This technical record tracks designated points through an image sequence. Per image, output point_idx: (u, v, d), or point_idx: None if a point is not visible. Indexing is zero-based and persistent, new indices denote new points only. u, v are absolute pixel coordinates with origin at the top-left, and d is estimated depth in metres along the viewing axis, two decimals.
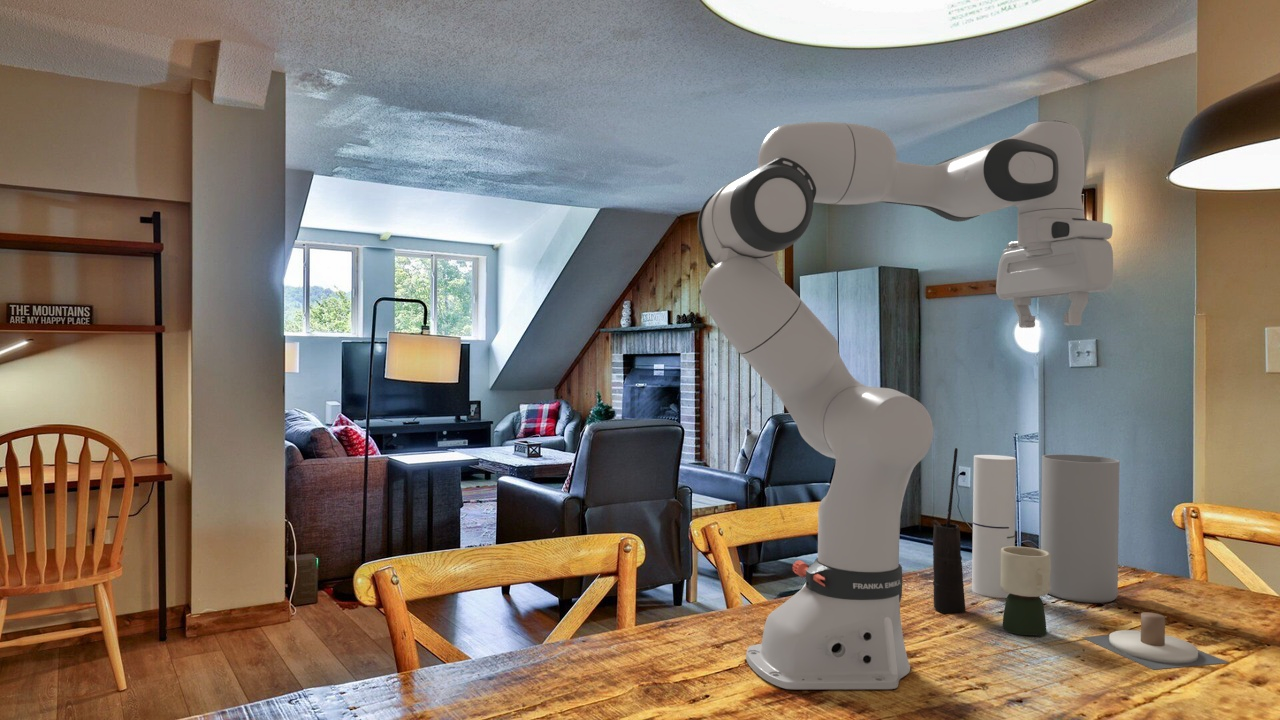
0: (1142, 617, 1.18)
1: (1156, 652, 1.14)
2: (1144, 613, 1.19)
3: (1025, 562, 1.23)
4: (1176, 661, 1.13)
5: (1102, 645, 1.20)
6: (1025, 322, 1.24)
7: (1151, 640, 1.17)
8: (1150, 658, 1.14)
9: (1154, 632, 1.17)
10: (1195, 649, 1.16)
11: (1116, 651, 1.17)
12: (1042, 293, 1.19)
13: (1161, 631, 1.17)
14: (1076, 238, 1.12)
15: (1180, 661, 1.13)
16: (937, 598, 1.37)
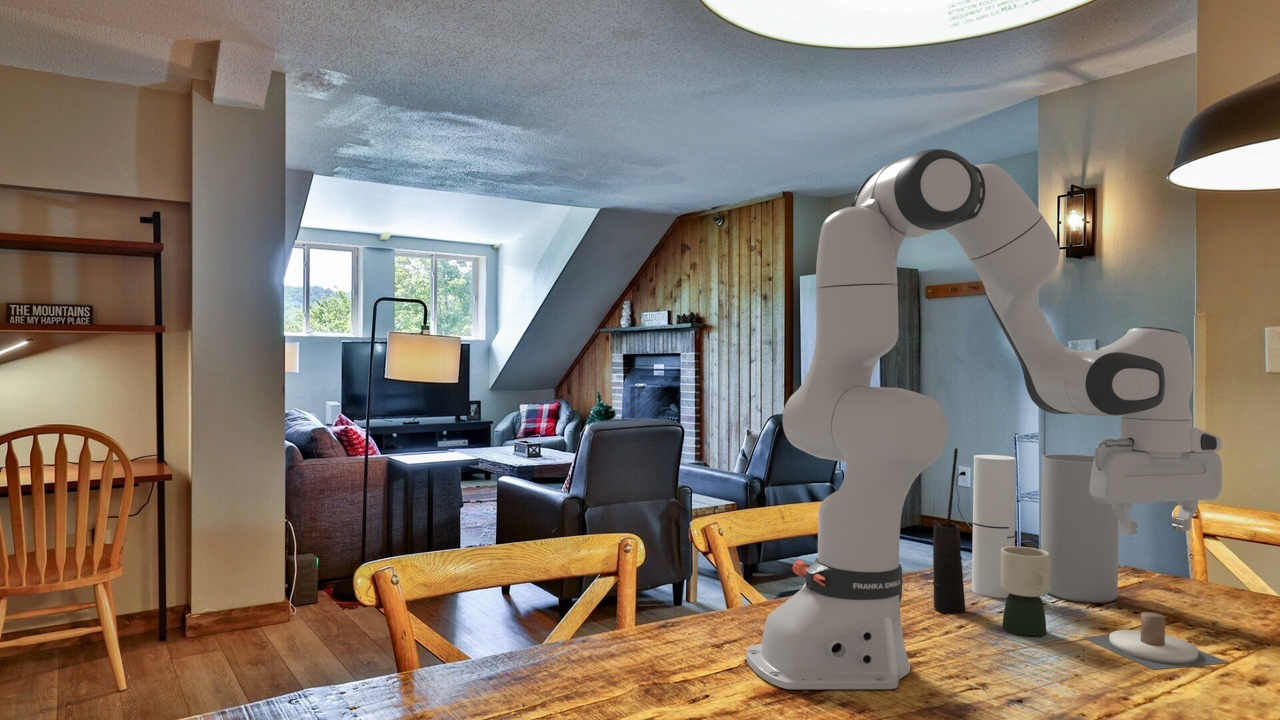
0: (1142, 617, 1.18)
1: (1156, 652, 1.14)
2: (1144, 613, 1.19)
3: (1025, 562, 1.23)
4: (1176, 661, 1.13)
5: (1102, 645, 1.20)
6: (1135, 529, 1.17)
7: (1151, 640, 1.17)
8: (1150, 658, 1.14)
9: (1154, 632, 1.17)
10: (1195, 649, 1.16)
11: (1116, 651, 1.17)
12: (1167, 500, 1.17)
13: (1161, 631, 1.17)
14: None
15: (1180, 661, 1.13)
16: (937, 598, 1.37)
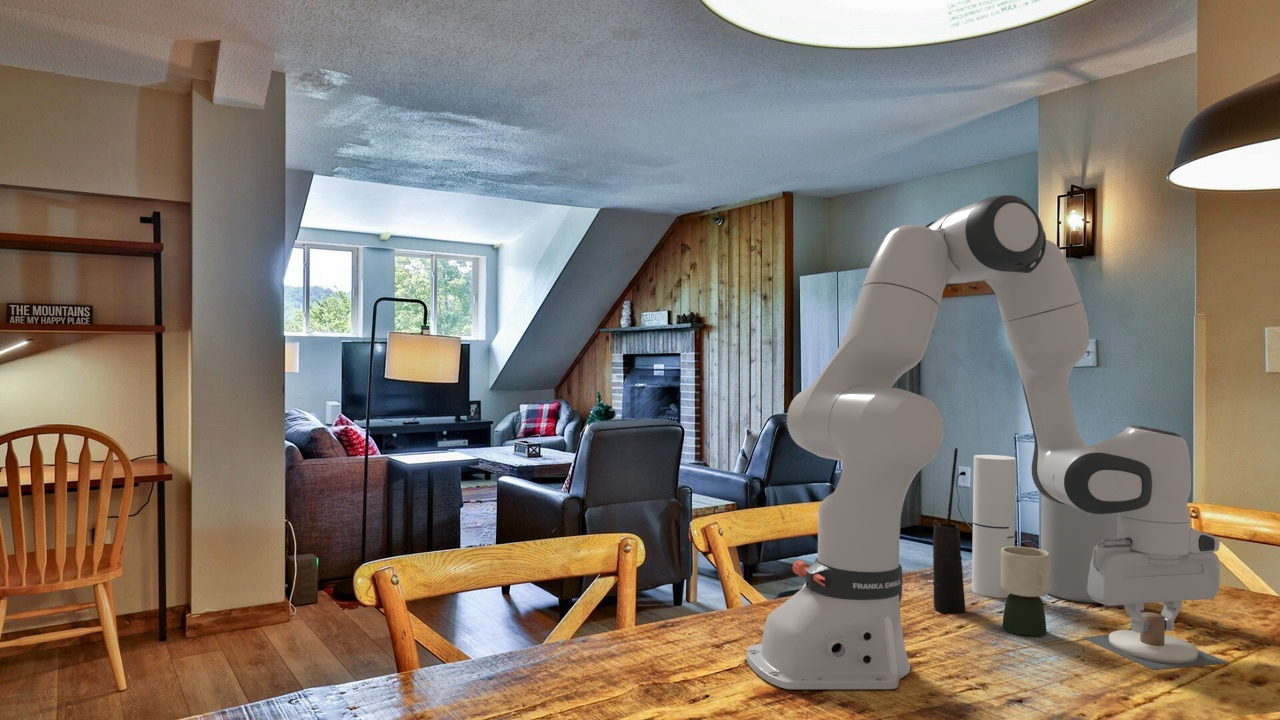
0: None
1: (1156, 652, 1.14)
2: (1144, 613, 1.19)
3: (1025, 562, 1.23)
4: (1176, 661, 1.13)
5: (1102, 645, 1.20)
6: (1147, 628, 1.17)
7: (1151, 640, 1.17)
8: (1150, 658, 1.14)
9: (1154, 632, 1.17)
10: (1194, 649, 1.16)
11: (1116, 651, 1.17)
12: (1165, 601, 1.17)
13: (1161, 631, 1.17)
14: (1212, 551, 1.18)
15: (1180, 661, 1.13)
16: (937, 598, 1.37)
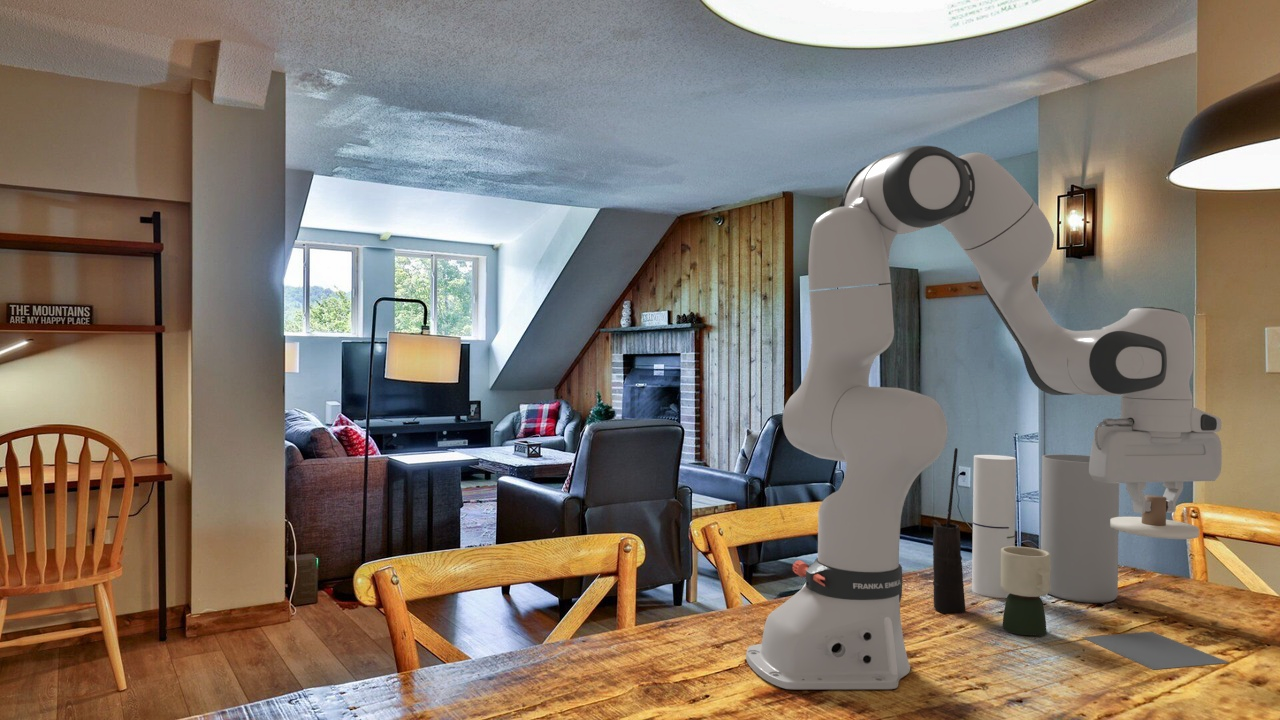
0: None
1: (1158, 529, 1.14)
2: (1145, 495, 1.19)
3: (1025, 562, 1.23)
4: (1177, 536, 1.13)
5: (1102, 645, 1.20)
6: (1149, 508, 1.17)
7: (1152, 520, 1.17)
8: (1151, 534, 1.14)
9: (1156, 511, 1.17)
10: (1196, 528, 1.16)
11: (1116, 651, 1.17)
12: (1167, 481, 1.17)
13: (1162, 511, 1.17)
14: None
15: (1181, 536, 1.13)
16: (937, 598, 1.37)
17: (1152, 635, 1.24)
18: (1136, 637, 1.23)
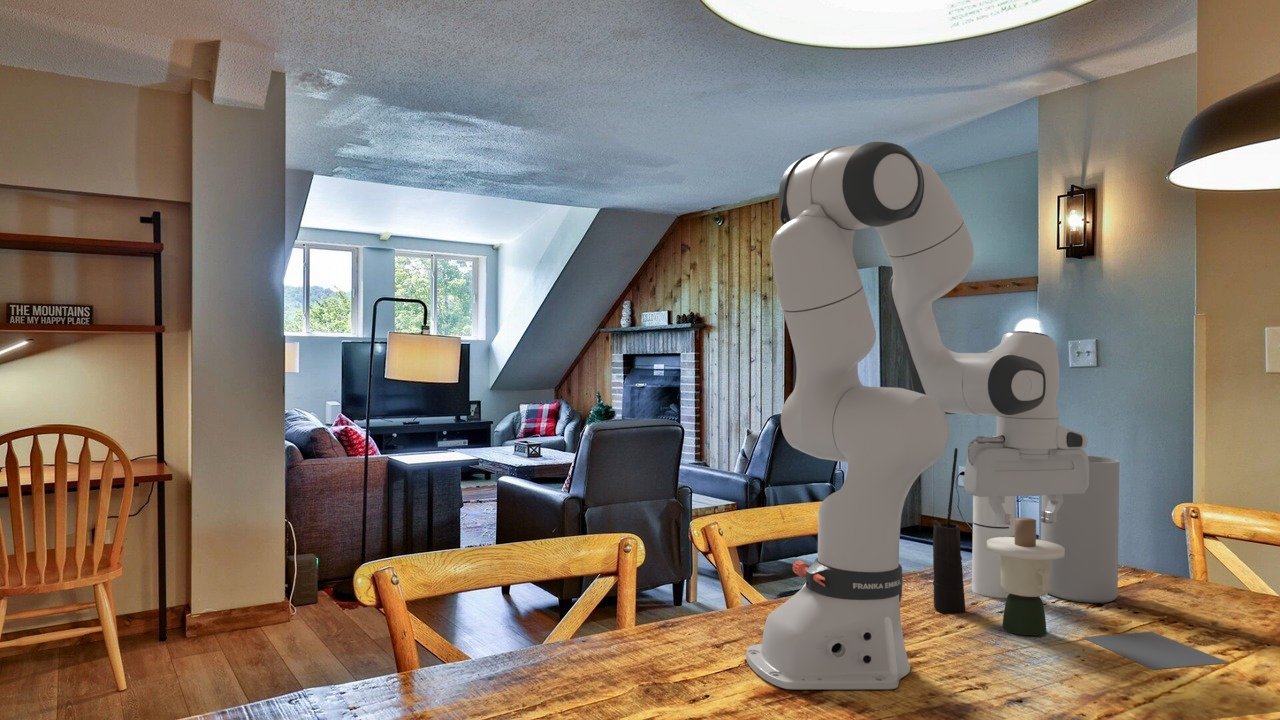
0: (1015, 521, 1.26)
1: (1024, 551, 1.22)
2: (1018, 518, 1.27)
3: (1025, 562, 1.23)
4: (1041, 558, 1.21)
5: (1102, 645, 1.20)
6: None
7: (1022, 541, 1.25)
8: (1018, 556, 1.22)
9: (1025, 533, 1.25)
10: (1062, 549, 1.23)
11: (1116, 651, 1.17)
12: (1036, 494, 1.25)
13: (1032, 533, 1.25)
14: (1081, 449, 1.25)
15: (1045, 558, 1.21)
16: (937, 598, 1.37)
17: (1152, 635, 1.24)
18: (1136, 637, 1.23)
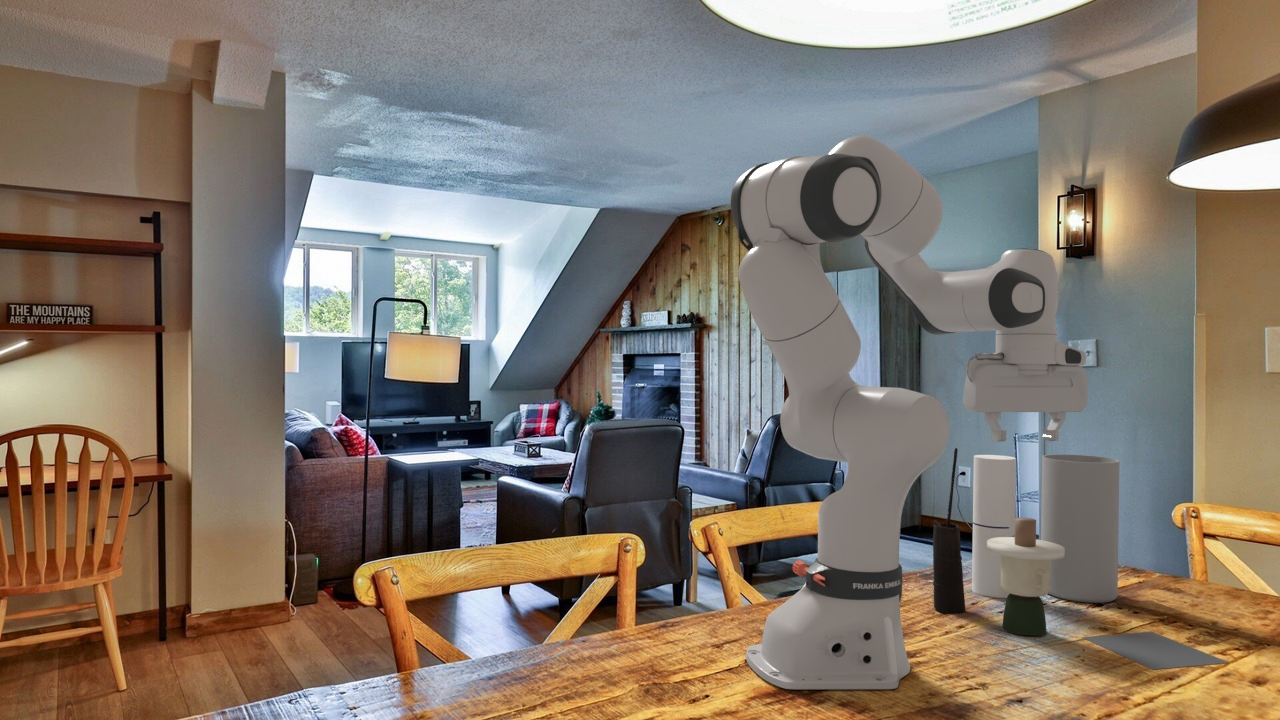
0: (1015, 521, 1.26)
1: (1024, 551, 1.22)
2: (1018, 518, 1.27)
3: (1025, 562, 1.23)
4: (1041, 558, 1.21)
5: (1102, 645, 1.20)
6: (1005, 436, 1.25)
7: (1022, 541, 1.25)
8: (1018, 556, 1.22)
9: (1025, 533, 1.25)
10: (1062, 549, 1.23)
11: (1116, 651, 1.17)
12: (1035, 411, 1.25)
13: (1032, 533, 1.25)
14: (1080, 366, 1.26)
15: (1045, 558, 1.21)
16: (937, 598, 1.37)
17: (1152, 635, 1.24)
18: (1136, 637, 1.23)
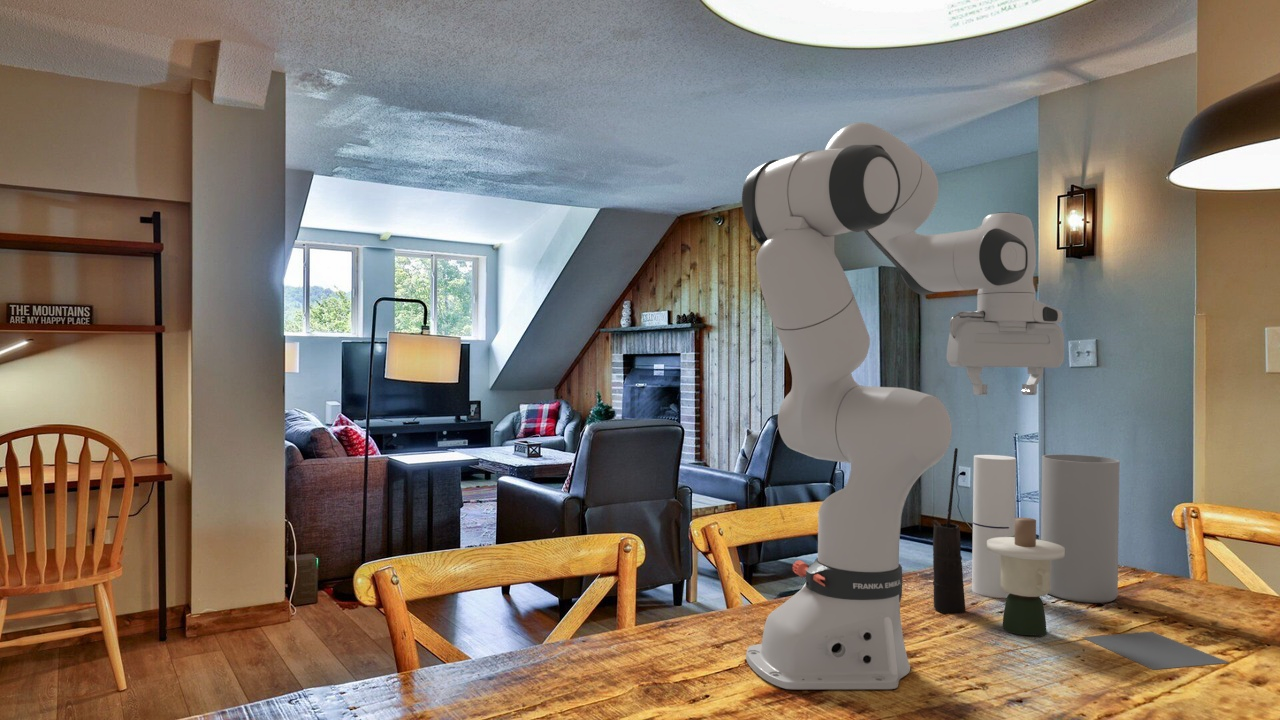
0: (1015, 521, 1.26)
1: (1024, 551, 1.22)
2: (1018, 518, 1.27)
3: (1025, 562, 1.23)
4: (1041, 558, 1.21)
5: (1102, 645, 1.20)
6: (986, 390, 1.33)
7: (1022, 541, 1.25)
8: (1018, 556, 1.22)
9: (1025, 533, 1.25)
10: (1062, 549, 1.23)
11: (1116, 651, 1.17)
12: (1014, 366, 1.33)
13: (1031, 533, 1.25)
14: (1056, 324, 1.34)
15: (1045, 558, 1.21)
16: (937, 598, 1.37)
17: (1152, 635, 1.24)
18: (1136, 637, 1.23)
